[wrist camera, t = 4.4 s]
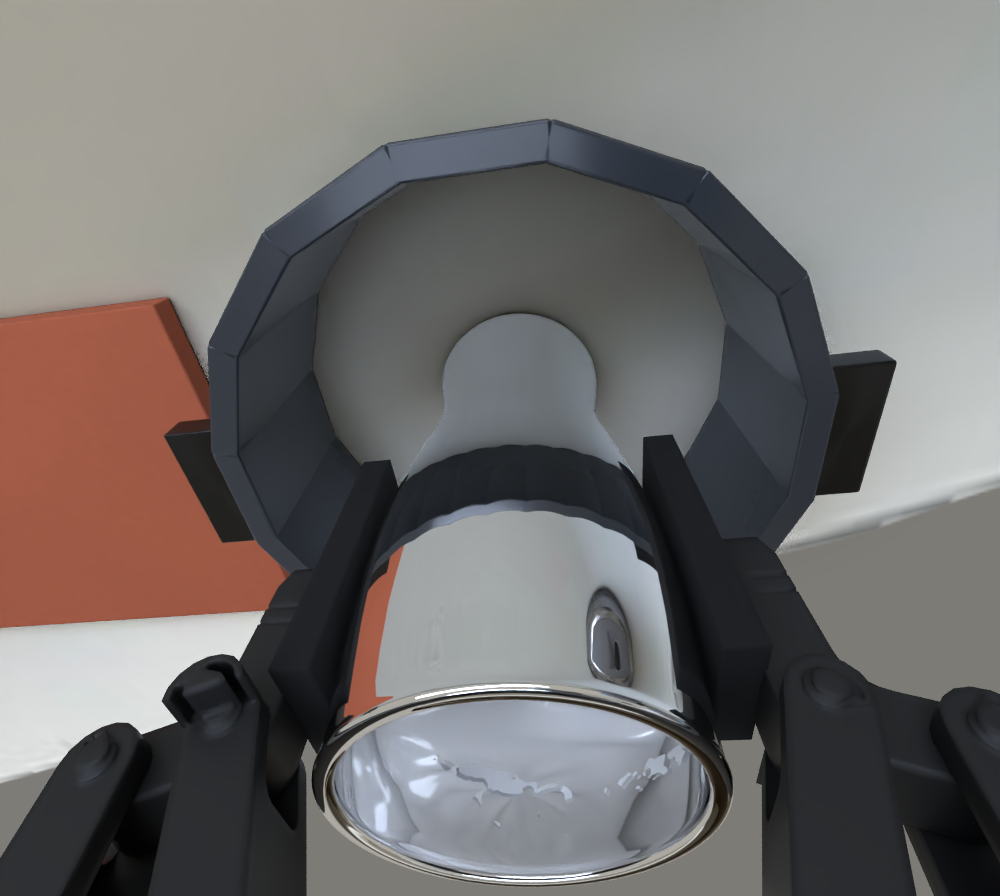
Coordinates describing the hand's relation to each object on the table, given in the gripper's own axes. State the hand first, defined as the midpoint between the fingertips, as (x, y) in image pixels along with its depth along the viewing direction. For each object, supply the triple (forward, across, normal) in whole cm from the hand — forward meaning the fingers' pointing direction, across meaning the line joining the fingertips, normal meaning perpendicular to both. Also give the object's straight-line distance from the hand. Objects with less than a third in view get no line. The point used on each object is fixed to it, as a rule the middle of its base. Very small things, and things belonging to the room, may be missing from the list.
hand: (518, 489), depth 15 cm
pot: (+7, 0, 0) cm, 7 cm away
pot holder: (+7, -23, -3) cm, 24 cm away
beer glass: (+7, 0, 0) cm, 7 cm away
